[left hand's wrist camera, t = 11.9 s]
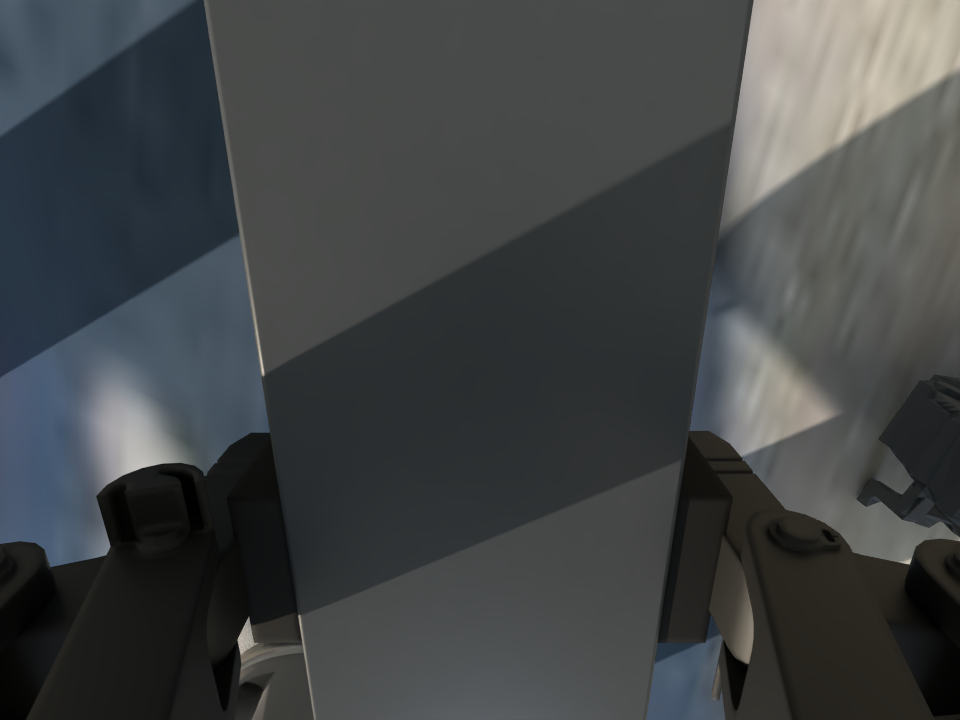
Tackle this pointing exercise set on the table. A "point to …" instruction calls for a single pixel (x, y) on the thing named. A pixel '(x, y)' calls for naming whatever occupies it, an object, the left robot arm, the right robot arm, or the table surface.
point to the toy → (925, 456)
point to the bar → (479, 330)
